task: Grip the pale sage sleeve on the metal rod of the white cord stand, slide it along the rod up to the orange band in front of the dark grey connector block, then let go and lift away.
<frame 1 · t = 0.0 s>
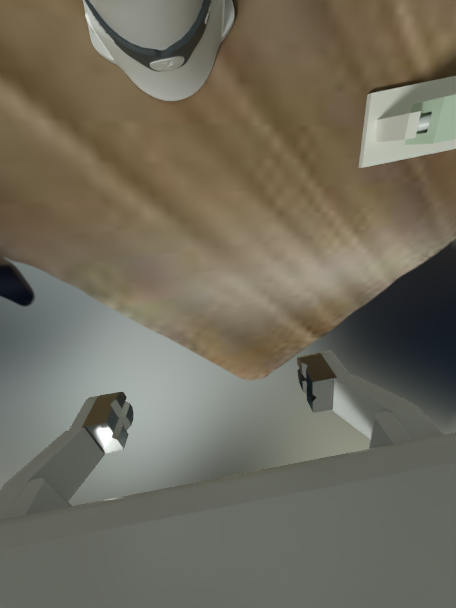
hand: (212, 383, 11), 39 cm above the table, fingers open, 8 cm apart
cord stand: (451, 115, 39), on the table
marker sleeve: (439, 119, 33), point 7 cm above the table, slide at -8.0 cm
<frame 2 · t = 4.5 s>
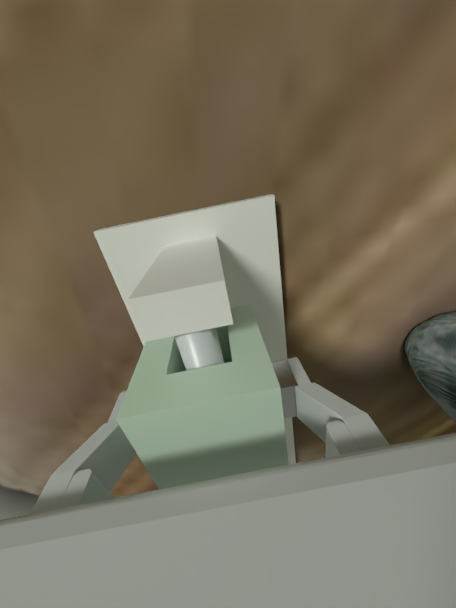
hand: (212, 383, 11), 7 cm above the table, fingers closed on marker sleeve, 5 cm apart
cord stand: (230, 391, 20), on the table
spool: (452, 345, 20), on the table
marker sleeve: (213, 390, 10), point 7 cm above the table, slide at -8.0 cm, touching gripper
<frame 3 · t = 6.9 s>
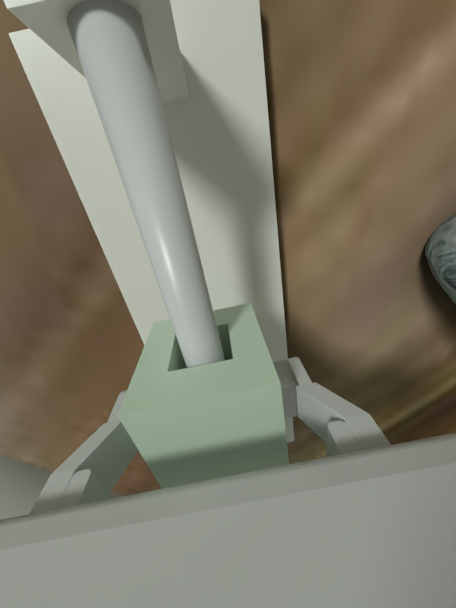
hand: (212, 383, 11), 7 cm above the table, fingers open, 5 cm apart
cord stand: (212, 316, 17), on the table
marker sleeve: (213, 388, 11), point 7 cm above the table, slide at -0.3 cm, touching gripper
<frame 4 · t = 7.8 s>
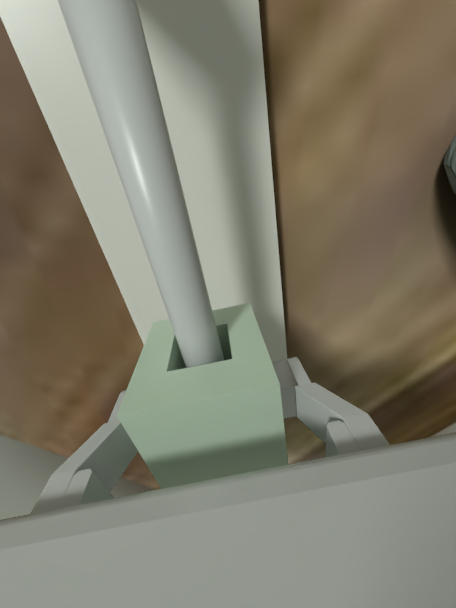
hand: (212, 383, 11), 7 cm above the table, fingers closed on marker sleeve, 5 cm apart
cord stand: (194, 249, 15), on the table
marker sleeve: (213, 388, 11), point 7 cm above the table, slide at 4.7 cm, touching gripper
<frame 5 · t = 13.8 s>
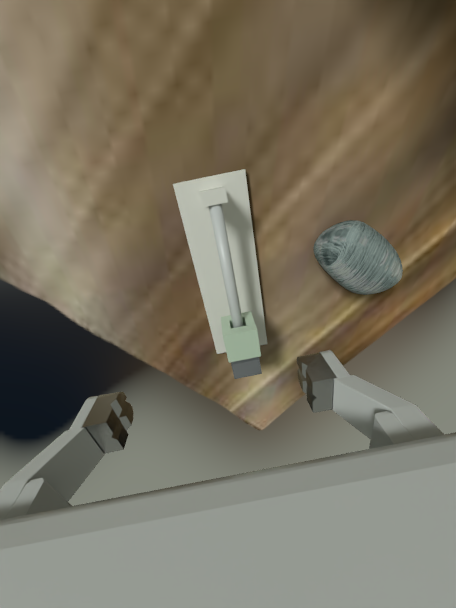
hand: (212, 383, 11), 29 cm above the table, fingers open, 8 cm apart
cord stand: (228, 276, 39), on the table
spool: (343, 252, 39), on the table
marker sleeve: (240, 336, 37), point 7 cm above the table, slide at 7.6 cm
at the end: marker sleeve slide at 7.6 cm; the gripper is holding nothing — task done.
